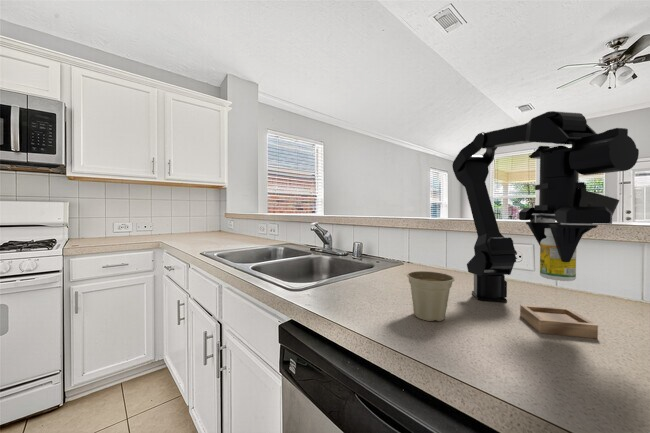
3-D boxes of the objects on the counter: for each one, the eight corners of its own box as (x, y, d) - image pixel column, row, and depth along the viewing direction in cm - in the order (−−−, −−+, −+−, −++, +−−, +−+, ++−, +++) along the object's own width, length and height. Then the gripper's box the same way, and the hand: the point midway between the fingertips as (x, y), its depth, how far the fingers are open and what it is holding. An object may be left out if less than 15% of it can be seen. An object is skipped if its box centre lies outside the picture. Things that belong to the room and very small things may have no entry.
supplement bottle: (576, 283, 50) (577, 230, 49) (539, 278, 53) (540, 228, 53) (574, 277, 54) (575, 228, 53) (539, 273, 57) (540, 227, 57)
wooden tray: (540, 332, 50) (540, 320, 50) (520, 315, 59) (520, 304, 59) (597, 338, 48) (597, 325, 48) (568, 319, 56) (568, 308, 56)
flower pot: (451, 311, 61) (451, 272, 61) (456, 328, 52) (457, 283, 52) (407, 306, 64) (407, 269, 64) (405, 321, 55) (405, 279, 55)
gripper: (656, 170, 42) (653, 272, 42) (577, 182, 60) (575, 253, 60) (569, 172, 45) (567, 268, 45) (518, 183, 63) (517, 251, 63)
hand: (556, 259), depth 53 cm, fingers closed on supplement bottle, 5 cm apart
